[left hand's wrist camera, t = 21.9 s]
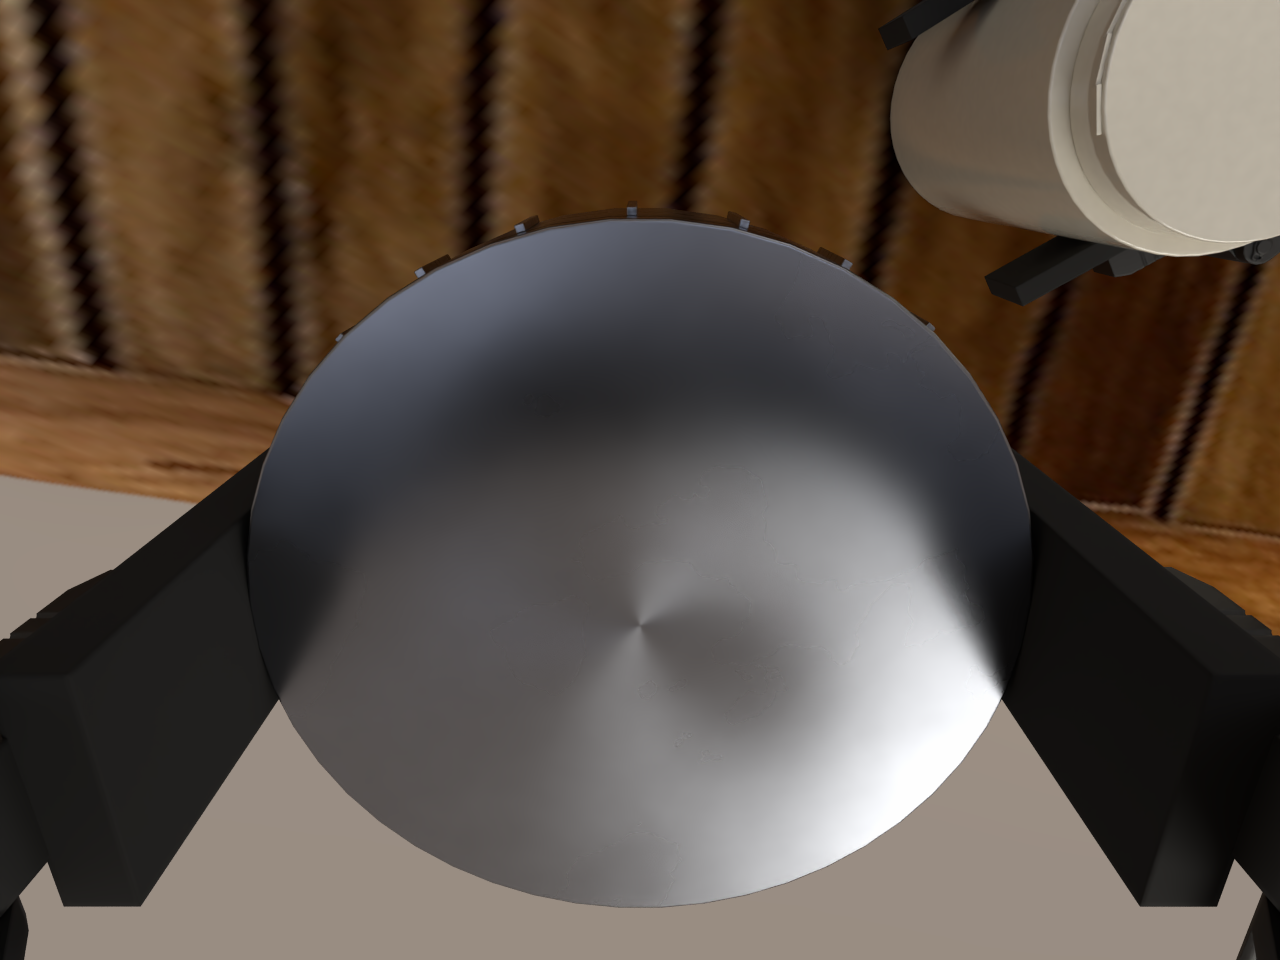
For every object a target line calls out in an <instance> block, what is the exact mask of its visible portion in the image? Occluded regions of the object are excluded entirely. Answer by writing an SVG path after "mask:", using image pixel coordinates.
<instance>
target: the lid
mask: <svg viewBox="0 0 1280 960" xmlns="http://www.w3.org/2000/svg"><path fill="white" fill-rule="evenodd" d="M749 224H750V221H749V220H747V219H745V218H744V217H742V216H740V215H739V214H737V213H734V212H730V211H729V212H728V215H727V218H724V217H721V216H717V215H710V214H703V213H696V212H688V211H681V210H674V209H667V208H637V201H629V202H628V205H627V208H614V209H606V210H599V211H592V212H585V213H578V214H570V215H563V216H560V217H556V218H553V219H549V220H546V221H542V222H539V218H538V215H535V216H532V217H529V218H527V219H526V220H524V221H522V222H520V223H518V224H516V225H515V226H514V227H515V229H514V230H512V231H510V232H508V233H505V234H503V235H501V236H498V237H496V238H494V239H492V240H489V241H487V242H485V243H483V244H480V245H478V246H476V247H474V248H471V249H469V250H467V251H465V252H464V253H462V254H460V255H458V256H456V257H454V258H452V259H451V258H450V257H449V255H448V254H447V255H445V256H443V257H441V258H439V259H437V260H435V261H433V262H431V263H429V264H427V265H425V266H423V267H421V268H419V269H418V270H416V271H415V272H414V273H415V274H416V276H417V277H418V279H417V280H415V281H413V282H412V283H410V284H409V285H407V286H405V287H404V288H402V289H401V290H399V291H397V292H396V293H394V294H393V295H391V296H389V297H388V298H386V299H385V300H384V301H383V302H382V303H381V304H379V305H378V306H377V307H376V308H375V309H374V310H372V311H371V312H370V313H369V314H368V315H367V316H365V317H364V318H363V319H362V320H361V321H360V322H358V323H357V324H356V325H354V326H353V327H351V328H349V329H348V330H346V331H344V332H343V333H341V334H340V335H339V336H338V337H337V338H336V341H337V342H338V343H337V344H336V345H335V346H334V347H333V348H332V350H331V351H330V352H329V353H328V354H327V355H326V356H325V358H324V359H323V360H322V361H321V362H320V363H319V365H318V366H317V367H316V368H315V369H314V370H313V371H312V373H311V374H310V375H309V377H308V378H307V380H306V381H305V383H304V385H303V386H302V388H301V389H300V391H299V393H298V394H297V396H296V397H295V399H294V401H293V402H292V404H291V405H290V407H289V408H288V410H287V412H286V413H285V415H284V416H283V418H282V420H281V423H280V425H279V427H278V430H277V432H276V434H275V437H274V439H273V441H272V444H271V446H270V448H269V451H268V453H267V455H266V458H265V460H264V462H263V465H262V469H261V473H260V477H259V481H258V485H257V489H256V493H255V496H254V500H253V504H252V508H251V516H250V526H249V537H248V547H247V575H248V592H249V603H250V608H251V612H252V617H253V622H254V627H255V632H256V636H257V641H258V646H259V650H260V653H261V656H262V659H263V661H264V664H265V667H266V670H267V672H268V675H269V678H270V681H271V683H272V686H273V689H274V691H275V692H276V694H277V696H278V698H279V700H280V702H281V704H282V706H283V708H284V709H285V711H286V713H287V715H288V717H289V719H290V721H291V723H292V725H293V727H294V728H295V729H296V731H297V732H298V734H299V735H300V736H301V738H302V739H303V741H304V742H305V744H306V745H307V746H308V748H309V749H310V751H311V752H312V753H313V755H314V756H315V758H316V759H317V761H318V762H319V763H320V764H321V765H322V766H323V767H324V768H325V770H326V771H327V772H328V773H329V774H330V775H331V776H332V777H333V778H334V779H335V781H336V782H337V783H338V784H339V785H340V786H341V787H342V788H343V789H344V790H345V792H346V793H347V794H348V795H350V796H351V797H352V798H353V799H354V800H355V801H357V802H358V803H359V804H360V805H361V806H362V807H363V808H365V809H366V810H367V811H368V812H369V813H370V814H371V815H373V816H374V817H375V818H376V819H377V820H378V821H380V822H381V823H382V824H384V825H385V826H387V827H388V828H390V829H391V830H393V831H394V832H395V833H397V834H399V835H400V836H401V837H403V838H404V839H406V840H407V841H409V842H410V843H411V844H413V845H414V846H416V847H418V848H420V849H422V850H423V851H425V852H427V853H429V854H431V855H433V856H435V857H436V858H438V859H440V860H442V861H444V862H446V863H448V864H449V865H451V866H453V867H456V868H458V869H460V870H463V871H465V872H468V873H470V874H473V875H475V876H477V877H480V878H482V879H485V880H487V881H490V882H492V883H495V884H499V885H502V886H505V887H509V888H512V889H515V890H519V891H522V892H525V893H529V894H532V895H536V896H541V897H547V898H552V899H557V900H562V901H567V902H572V903H578V904H589V905H599V906H609V907H671V906H682V905H692V904H703V903H709V902H714V901H719V900H724V899H729V898H734V897H740V896H745V895H749V894H752V893H755V892H759V891H762V890H766V889H769V888H772V887H776V886H779V885H782V884H786V883H789V882H791V881H794V880H796V879H798V878H801V877H803V876H806V875H808V874H810V873H813V872H815V871H818V870H820V869H823V868H825V867H827V866H829V865H831V864H833V863H835V862H837V861H839V860H841V859H842V858H844V857H846V856H848V855H850V854H852V853H854V852H855V851H857V850H859V849H861V848H863V847H865V846H866V845H868V844H869V843H871V842H872V841H874V840H875V839H876V838H878V837H879V836H881V835H882V834H884V833H885V832H887V831H888V830H890V829H891V828H892V827H894V826H895V825H897V824H898V823H900V822H901V821H902V820H903V819H905V818H906V817H907V816H908V815H909V814H910V813H912V812H913V811H914V810H915V809H916V808H917V807H918V806H920V805H921V804H922V803H923V802H924V801H925V800H927V799H928V798H929V797H930V796H931V795H932V794H933V793H934V792H935V791H936V790H937V789H938V788H939V787H940V786H941V785H942V783H943V782H944V781H945V780H946V779H947V778H948V777H949V776H950V775H951V774H952V772H953V771H954V770H955V769H956V768H957V767H958V766H959V765H960V764H961V763H962V761H963V760H964V759H965V757H966V756H967V754H968V753H969V751H970V750H971V749H972V747H973V746H974V744H975V743H976V742H977V740H978V739H979V737H980V736H981V735H982V733H983V732H984V730H985V729H986V727H987V726H988V724H989V722H990V720H991V718H992V716H993V714H994V713H995V711H996V709H997V707H998V705H999V703H1000V701H1001V699H1002V697H1003V696H1004V694H1005V692H1006V690H1007V688H1008V685H1009V682H1010V680H1011V677H1012V674H1013V671H1014V669H1015V666H1016V663H1017V660H1018V657H1019V655H1020V652H1021V649H1022V645H1023V640H1024V635H1025V631H1026V626H1027V621H1028V616H1029V611H1030V607H1031V601H1032V584H1033V567H1034V552H1033V542H1032V531H1031V521H1030V510H1029V506H1028V502H1027V498H1026V495H1025V491H1024V487H1023V483H1022V479H1021V475H1020V471H1019V467H1018V463H1017V461H1016V459H1015V456H1014V454H1013V452H1012V450H1011V447H1010V445H1009V443H1008V440H1007V438H1006V436H1005V433H1004V431H1003V429H1002V426H1001V424H1000V422H999V419H998V417H997V416H996V414H995V413H994V411H993V409H992V408H991V406H990V404H989V402H988V401H987V400H986V398H985V397H984V395H983V393H982V392H981V390H980V389H979V387H978V386H977V384H976V382H975V381H974V379H973V378H972V376H971V374H970V373H969V372H968V371H967V370H966V369H965V367H964V366H963V365H962V364H961V363H960V362H959V361H958V359H957V358H956V357H955V356H954V355H953V354H952V353H951V351H950V350H949V349H948V348H947V347H946V346H945V344H944V343H943V342H942V341H941V340H940V339H939V338H938V336H937V335H936V334H935V333H934V332H933V330H934V329H935V328H934V327H933V326H932V325H931V324H930V323H929V322H927V321H926V320H924V319H922V318H920V317H919V316H917V315H915V314H913V313H912V312H910V311H908V310H907V309H906V308H904V307H903V306H902V305H901V304H900V303H899V302H897V301H896V300H895V299H894V298H893V297H891V296H889V295H888V294H886V293H885V292H883V291H881V290H880V289H878V288H877V287H875V286H873V285H872V284H870V283H869V282H867V281H865V280H864V279H862V278H861V277H859V276H857V275H856V274H854V273H853V272H851V271H849V269H850V267H851V266H852V263H851V262H850V261H848V260H846V259H844V258H842V257H840V256H838V255H836V254H834V253H832V252H830V251H828V250H826V249H824V248H822V247H820V248H819V250H818V252H815V251H813V250H811V249H809V248H807V247H805V246H802V245H800V244H798V243H796V242H793V241H791V240H789V239H786V238H784V237H782V236H780V235H777V234H775V233H773V232H771V231H768V230H766V229H763V228H759V227H756V226H752V225H749Z"/></svg>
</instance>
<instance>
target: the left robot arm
mask: <svg viewBox="0 0 1280 960" xmlns="http://www.w3.org/2000/svg"><path fill="white" fill-rule="evenodd" d="M1011 450H1012V452H1013V454H1014V456H1015V459H1016V461H1017V463H1018V467H1019V471H1020V475H1021V479H1022V483H1023V487H1024V491H1025V495H1026V498H1027V502H1028V506H1029V510H1030V521H1031V531H1032V542H1033V552H1034V567H1033V584H1032V601H1031V607H1030V611H1029V616H1028V621H1027V626H1026V631H1025V635H1024V640H1023V645H1022V649H1021V652H1020V655H1019V657H1018V660H1017V663H1016V666H1015V669H1014V671H1013V674H1012V677H1011V680H1010V682H1009V685H1008V688H1007V690H1006V692H1005V694H1004V696H1003V697H1002V700H1003V702H1004V703H1005V705H1006V706H1007V708H1008V709H1009V711H1010V712H1011V714H1012V715H1013V717H1014V718H1015V720H1016V721H1017V723H1018V724H1019V726H1020V727H1021V729H1022V730H1023V732H1024V733H1025V735H1026V736H1027V738H1028V739H1029V741H1030V742H1031V744H1032V745H1033V747H1034V748H1035V750H1036V751H1037V753H1038V754H1039V756H1040V757H1041V759H1042V760H1043V762H1044V763H1045V765H1046V766H1047V768H1048V769H1049V771H1050V772H1051V774H1052V775H1053V777H1054V778H1055V780H1056V781H1057V783H1058V784H1059V786H1060V787H1061V789H1062V790H1063V792H1064V793H1065V795H1066V796H1067V798H1068V799H1069V801H1070V802H1071V804H1072V805H1073V807H1074V808H1075V810H1076V811H1077V813H1078V814H1079V816H1080V817H1081V819H1082V820H1083V822H1084V823H1085V825H1086V826H1087V828H1088V829H1089V831H1090V832H1091V834H1092V835H1093V837H1094V838H1095V840H1096V841H1097V843H1098V844H1099V846H1100V847H1101V849H1102V850H1103V852H1104V853H1105V855H1106V856H1107V858H1108V859H1109V861H1110V862H1111V864H1112V865H1113V867H1114V868H1115V870H1116V871H1117V873H1118V874H1119V876H1120V877H1121V879H1122V880H1123V882H1124V883H1125V885H1126V886H1127V888H1128V889H1129V891H1130V892H1131V894H1132V895H1133V897H1134V898H1135V900H1136V901H1137V903H1138V904H1139V906H1141V907H1217V905H1218V902H1219V899H1220V897H1221V894H1222V891H1223V888H1224V886H1225V883H1226V880H1227V878H1228V875H1229V872H1230V869H1231V867H1232V864H1233V861H1234V859H1235V860H1236V861H1237V862H1238V863H1239V865H1240V866H1241V867H1242V868H1243V869H1244V870H1245V872H1246V873H1247V874H1248V875H1249V876H1250V878H1251V879H1252V880H1253V881H1254V882H1255V883H1256V885H1257V886H1258V887H1259V888H1260V889H1261V891H1262V892H1263V893H1262V895H1261V898H1260V900H1259V903H1258V905H1257V908H1256V911H1255V913H1254V916H1253V918H1252V921H1251V923H1250V926H1249V928H1248V931H1247V934H1246V936H1245V939H1244V941H1243V944H1242V946H1241V949H1240V951H1239V954H1238V957H1237V959H1236V960H1280V636H1272V633H1271V631H1272V630H1270V629H1269V628H1268V627H1266V626H1265V625H1264V624H1262V623H1261V622H1260V621H1258V620H1257V619H1256V618H1254V617H1253V616H1252V615H1245V610H1244V609H1242V608H1241V607H1240V606H1238V605H1237V604H1236V603H1234V602H1233V601H1232V600H1230V599H1229V598H1228V597H1226V596H1225V595H1224V594H1222V593H1221V592H1220V591H1218V590H1217V589H1216V588H1214V587H1212V586H1210V585H1208V584H1206V583H1204V582H1202V581H1200V580H1197V579H1195V578H1193V577H1191V576H1189V575H1187V574H1185V573H1182V572H1180V571H1178V570H1176V569H1174V568H1172V567H1163V566H1162V565H1160V564H1159V563H1158V562H1157V561H1155V560H1154V559H1153V558H1151V557H1150V556H1149V555H1148V554H1146V553H1145V552H1144V551H1143V550H1141V549H1140V548H1139V547H1137V546H1136V545H1135V544H1134V543H1132V542H1131V541H1130V540H1128V539H1127V538H1126V537H1125V536H1123V535H1122V534H1121V533H1120V532H1118V531H1117V530H1116V529H1114V528H1113V527H1112V526H1111V525H1109V524H1108V523H1107V522H1105V521H1104V520H1103V519H1102V518H1100V517H1099V516H1098V515H1097V514H1095V513H1094V512H1093V511H1091V510H1090V509H1089V508H1088V507H1086V506H1085V505H1084V504H1082V503H1081V502H1080V501H1079V500H1077V499H1076V498H1075V497H1074V496H1072V495H1071V494H1070V493H1068V492H1067V491H1066V490H1065V489H1063V488H1062V487H1061V486H1060V485H1058V484H1057V483H1056V482H1054V481H1053V480H1052V479H1051V478H1049V477H1048V476H1047V475H1045V474H1044V473H1043V472H1042V471H1040V470H1039V469H1038V468H1037V467H1035V466H1034V465H1033V464H1031V463H1030V462H1029V461H1028V460H1026V459H1025V458H1024V457H1022V456H1021V455H1020V454H1019V453H1017V452H1016V451H1015V450H1014V449H1012V448H1011ZM268 451H269V448H268V449H267V450H266V451H264V452H263V453H262V454H261V455H259V456H258V457H257V458H256V459H254V460H253V461H252V462H250V463H249V464H248V465H247V466H245V467H244V468H243V469H242V470H240V471H239V472H238V473H236V474H235V475H234V476H233V477H231V478H230V479H229V480H227V481H226V482H225V483H224V484H222V485H221V486H220V487H219V488H217V489H216V490H215V491H213V492H212V493H211V494H210V495H208V496H207V497H206V498H204V499H203V500H202V501H201V502H199V503H198V504H197V505H196V506H194V507H193V508H192V509H190V510H189V511H188V512H187V513H185V514H184V515H183V516H181V517H180V518H179V519H178V520H176V521H175V522H174V523H173V524H171V525H170V526H169V527H167V528H166V529H165V530H164V531H162V532H161V533H160V534H159V535H157V536H156V537H155V538H153V539H152V540H151V541H150V542H148V543H147V544H146V545H144V546H143V547H142V548H141V549H139V550H138V551H137V552H136V553H134V554H133V555H132V556H130V557H129V558H128V559H127V560H125V561H124V562H123V563H122V564H120V565H119V566H118V567H116V568H115V569H114V570H109V571H107V572H105V573H103V574H101V575H99V576H96V577H94V578H92V579H90V580H88V581H86V582H84V583H82V584H80V585H77V586H75V587H73V588H71V589H69V590H67V591H66V592H65V593H63V594H62V595H61V596H59V597H58V598H57V599H55V600H54V601H53V602H51V603H50V604H49V605H47V606H46V607H45V608H43V609H42V610H41V611H39V612H38V613H37V617H36V618H30V619H29V620H28V621H26V622H25V623H24V624H22V625H21V626H20V627H18V628H17V629H16V630H14V631H13V632H12V633H10V639H2V640H1V641H0V960H24V957H25V950H26V944H27V938H28V931H29V930H28V924H27V918H26V913H25V911H24V908H23V905H22V903H21V900H20V898H19V895H20V894H21V892H22V891H23V890H24V889H25V888H26V887H27V885H28V884H29V883H30V882H31V881H32V879H33V878H34V877H35V876H36V875H37V873H38V872H39V871H40V870H41V869H42V867H43V866H44V865H45V864H46V863H47V862H48V865H49V867H50V870H51V873H52V876H53V878H54V881H55V884H56V886H57V889H58V892H59V895H60V897H61V900H62V903H63V906H141V905H142V904H143V902H144V901H145V899H146V898H147V896H148V895H149V893H150V892H151V890H152V889H153V887H154V886H155V884H156V883H157V881H158V880H159V878H160V877H161V875H162V874H163V872H164V871H165V869H166V868H167V866H168V865H169V863H170V862H171V860H172V859H173V857H174V856H175V854H176V853H177V851H178V849H179V848H180V847H181V845H182V844H183V842H184V840H185V839H186V837H187V836H188V835H189V833H190V832H191V830H192V828H193V827H194V825H195V824H196V822H197V821H198V819H199V818H200V817H201V815H202V814H203V812H204V811H205V809H206V807H207V806H208V804H209V803H210V802H211V800H212V799H213V797H214V796H215V794H216V793H217V791H218V790H219V788H220V787H221V785H222V784H223V782H224V781H225V779H226V778H227V776H228V774H229V773H230V772H231V770H232V769H233V767H234V766H235V764H236V762H237V761H238V759H239V758H240V757H241V755H242V754H243V752H244V751H245V749H246V748H247V746H248V745H249V743H250V741H251V740H252V739H253V737H254V735H255V734H256V733H257V731H258V730H259V728H260V727H261V725H262V724H263V722H264V720H265V719H266V718H267V716H268V715H269V713H270V711H271V710H272V709H273V707H274V706H275V704H276V703H277V701H278V700H279V698H278V696H277V694H276V692H275V691H274V689H273V686H272V683H271V681H270V678H269V675H268V672H267V670H266V667H265V664H264V661H263V659H262V656H261V653H260V650H259V646H258V641H257V636H256V632H255V627H254V622H253V617H252V612H251V608H250V603H249V592H248V575H247V547H248V537H249V526H250V516H251V508H252V504H253V500H254V496H255V493H256V489H257V485H258V481H259V477H260V473H261V469H262V465H263V462H264V460H265V458H266V455H267V453H268Z"/></svg>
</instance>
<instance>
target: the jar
mask: <svg viewBox="0 0 1280 960" xmlns="http://www.w3.org/2000/svg"><path fill="white" fill-rule="evenodd" d="M890 121H891V135H892V141H893V147H894V150H895V154H896V157H897V160H898V162H899V164H900V167H901V169H902V171H903V173H904V175H905V176H906V178H907V179H908V181H909V182H910V184H911V185H912V186H913V187H914V189H915V190H916V191H917V192H918V193H919V194H920V195H921V196H922V197H923V198H924V199H926V200H927V201H928V202H929V203H931V204H932V205H934V206H936V207H937V208H939V209H940V210H943V211H945V212H947V213H950V214H952V215H956V216H960V217H964V218H968V219H973V220H979V221H984V222H989V223H994V224H1000V225H1005V226H1010V227H1015V228H1020V229H1026V230H1031V231H1036V232H1041V233H1047V234H1052V235H1057V236H1062V237H1067V238H1073V239H1078V240H1083V241H1088V242H1093V243H1099V244H1104V245H1109V246H1114V247H1120V248H1125V249H1130V250H1135V251H1140V252H1146V253H1151V254H1156V255H1166V256H1175V257H1182V256H1201V255H1208V254H1214V253H1220V252H1224V251H1227V250H1231V249H1234V248H1238V247H1241V246H1244V245H1246V244H1249V243H1251V242H1254V241H1259V240H1265V239H1269V238H1273V237H1276V236H1279V235H1280V0H974V1H973V2H971V3H970V4H968V5H966V6H965V7H963V8H962V9H960V10H959V11H957V12H955V13H954V14H952V15H951V16H949V17H947V18H946V19H944V20H943V21H941V22H939V23H938V24H936V25H935V26H933V27H931V28H930V29H928V30H927V31H925V32H923V33H922V34H920V35H919V36H918V37H917V38H916V40H915V41H914V43H913V45H912V46H911V48H910V50H909V51H908V53H907V55H906V57H905V59H904V61H903V64H902V66H901V68H900V70H899V74H898V77H897V80H896V83H895V86H894V92H893V97H892V102H891V115H890Z"/></svg>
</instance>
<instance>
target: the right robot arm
mask: <svg viewBox="0 0 1280 960" xmlns="http://www.w3.org/2000/svg"><path fill="white" fill-rule="evenodd" d="M973 1H974V0H923V1H921V2H920V3H918V4H917V5H915V6H913V7H912V8H910V9H909V10H907V11H906V12H904V13H902V14H901V15H899V16H898V17H896V18H895V19H893V20H891V21H890V22H888V23H887V24H885V25H884V26H882V27H880V28H879V31H880V34H881V36H882V39H883V41H884V43H885V46H886V48H887V50H889V49H891V48H894V47H896V46H898V45H901V44H903V43H905V42H908V41H910V40H912V39H914V38H916V37H917V36H919V35H920V34H922V33H923V32H925V31H927V30H928V29H930V28H931V27H933V26H935V25H936V24H938V23H939V22H941V21H943V20H944V19H946V18H947V17H949V16H951V15H952V14H954V13H955V12H957V11H959V10H960V9H962V8H963V7H965V6H966V5H968V4H970V3H971V2H973ZM1279 252H1280V235H1279V236H1276V237H1273V238H1269V239H1265V240H1259V241H1254V242H1251V243H1249V244H1246V245H1244V246H1241V247H1238V248H1234V249H1231V250H1227V251H1224V252H1220V253H1214V254H1208V255H1207V256H1211V257H1216V258H1221V259H1227V260H1233V261H1238V262H1244V263H1250V264H1256V265H1257V264H1262V263H1265V262H1267V261H1268V260H1270V259H1272V258H1273V257H1274V256H1275V255H1277V254H1278V253H1279ZM1164 256H1166V255H1156V254H1151V253H1146V252H1140V251H1135V250H1130V249H1125V248H1120V247H1114V246H1109V245H1104V244H1099V243H1093V242H1088V241H1083V240H1078V239H1073V238H1067V237H1062V236H1056V237H1055V238H1053V239H1051V240H1049V241H1047V242H1046V243H1044V244H1042V245H1040V246H1039V247H1037V248H1035V249H1033V250H1031V251H1030V252H1028V253H1026V254H1024V255H1022V256H1021V257H1019V258H1017V259H1015V260H1013V261H1012V262H1010V263H1008V264H1006V265H1004V266H1003V267H1001V268H999V269H997V270H995V271H994V272H992V273H990V274H988V275H986V276H985V279H986V282H987V284H988V286H989V289H990V291H991V293H992V294H993V295H996V296H998V297H1001V298H1003V299H1006V300H1009V301H1011V302H1014V303H1016V304H1019V305H1021V306H1024V305H1026V304H1028V303H1030V302H1032V301H1033V300H1035V299H1037V298H1039V297H1041V296H1043V295H1044V294H1046V293H1048V292H1050V291H1052V290H1054V289H1055V288H1057V287H1059V286H1061V285H1063V284H1065V283H1066V282H1068V281H1070V280H1072V279H1074V278H1076V277H1077V276H1079V275H1081V274H1083V273H1085V272H1087V271H1088V270H1090V269H1092V268H1093V270H1094V272H1097V273H1101V274H1105V275H1109V276H1113V277H1118V276H1124V275H1130V274H1132V273H1134V272H1136V271H1138V270H1140V269H1142V268H1143V267H1145V266H1146V265H1149V264H1151V263H1153V262H1155V261H1156V260H1157V259H1160V258H1162V257H1164Z"/></svg>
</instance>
